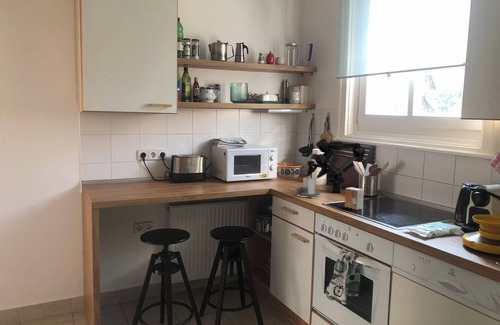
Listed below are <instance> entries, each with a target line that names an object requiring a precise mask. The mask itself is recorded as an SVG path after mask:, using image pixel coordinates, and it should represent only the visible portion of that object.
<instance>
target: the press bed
mask: <svg viewBox="0 0 500 325" xmlns="http://www.w3.org/2000/svg"><path fill="white" fill-rule="evenodd" d="M320 193H321V192H320V191H319V192H318V191H315V193H311V194H307V193H303V185H302V186H299V187H297V188H296V195H300V196H307V197H316V196H318V195H320ZM296 195H295V196H296ZM318 197H319V196H318ZM316 198H317V197H316Z"/></svg>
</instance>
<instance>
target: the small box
mask: <svg viewBox="0 0 500 325" xmlns="http://www.w3.org/2000/svg"><path fill="white" fill-rule="evenodd" d="M344 191H345V193H344V207H345V208H347V207H348V209H351V208H352V209H351V210H355V211H359V210H362V209H363V208H364V189H363V188H356V187H353V186H351V187H346V188H345V190H344ZM358 209H359V210H358Z"/></svg>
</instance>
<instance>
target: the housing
mask: <svg viewBox="0 0 500 325" xmlns="http://www.w3.org/2000/svg"><path fill="white" fill-rule="evenodd" d="M302 179H303V180H302V183H303V184H302V186H303V193H307V194H311V193H315V192H316V178H314V177H311V175H309V176H306V177H302Z"/></svg>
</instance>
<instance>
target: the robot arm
mask: <svg viewBox="0 0 500 325" xmlns="http://www.w3.org/2000/svg"><path fill="white" fill-rule="evenodd" d="M315 146H316V148H317V149H318V150H319V151H320V152H321V153H319V154H318V153H312V155H311V158H310V159H311V160H307V162H306V164H307V166H308V169H307V174H306V177H308V176H311V175H312V174H313V173H314V172H316V170H317V169H318V168H319V169H320V171H319V172H318V174H317V176H316V178H317V179H320V178H322V177H324V176H325V175H327V178H328V182H330V183H331V190H330V191H329V192H330V193H333V192H334V193H335V194H336V193H337V194H341V193H342V192H344V191H343V190H342V184H344V183H345V181H346V180H345V178H344V174H345V173H346V172H348V171H349V170H350V169H352V168H353V167H354V166H353V161H358V163H361V162H363V161H362V160H363V156H364V154H365V150H366V149H365V148H364V147H363V146H362V145H361V143H359V142H341V141H337V140H331V141H330V140H329V142H328V141H327V140H326V138H322V139H320V140H318V141H317V142H316V144H315ZM346 149H347V150H349V149H350V150H352V157H351V158H350V159H348V160H347V161H345V162H344V163H343V164H342V165H340V166H339V167H332V165H331V164H330V163H331V159H332V158H333V157H335V158H337V152H336V151H342V150H346ZM356 150H358V151H356Z"/></svg>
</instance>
